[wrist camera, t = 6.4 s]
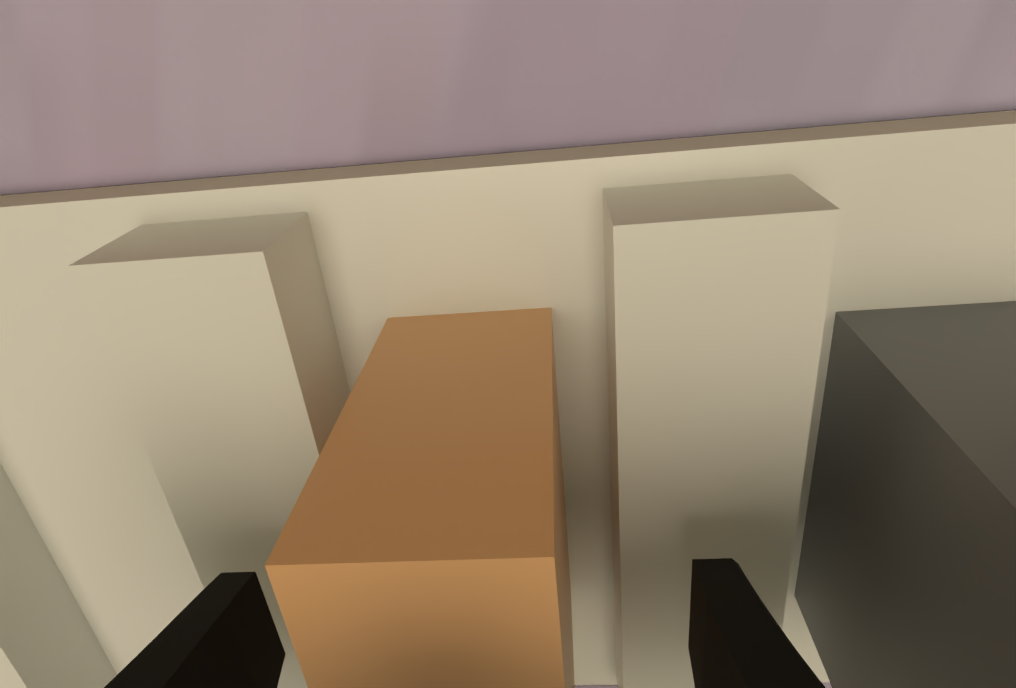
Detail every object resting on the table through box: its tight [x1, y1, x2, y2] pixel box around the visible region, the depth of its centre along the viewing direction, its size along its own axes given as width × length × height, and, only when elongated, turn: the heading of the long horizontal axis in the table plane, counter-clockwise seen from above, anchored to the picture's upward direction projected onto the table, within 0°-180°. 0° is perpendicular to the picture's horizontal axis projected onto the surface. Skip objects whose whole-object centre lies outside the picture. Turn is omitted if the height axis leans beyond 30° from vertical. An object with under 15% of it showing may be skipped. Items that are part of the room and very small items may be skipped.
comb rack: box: [0, 110, 1016, 688], centre depth 13 cm, size 13×27×3 cm, turn 95°
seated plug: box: [794, 301, 1016, 688], centre depth 10 cm, size 7×3×6 cm, turn 5°
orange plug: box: [265, 308, 575, 688], centre depth 11 cm, size 7×3×6 cm, turn 5°
